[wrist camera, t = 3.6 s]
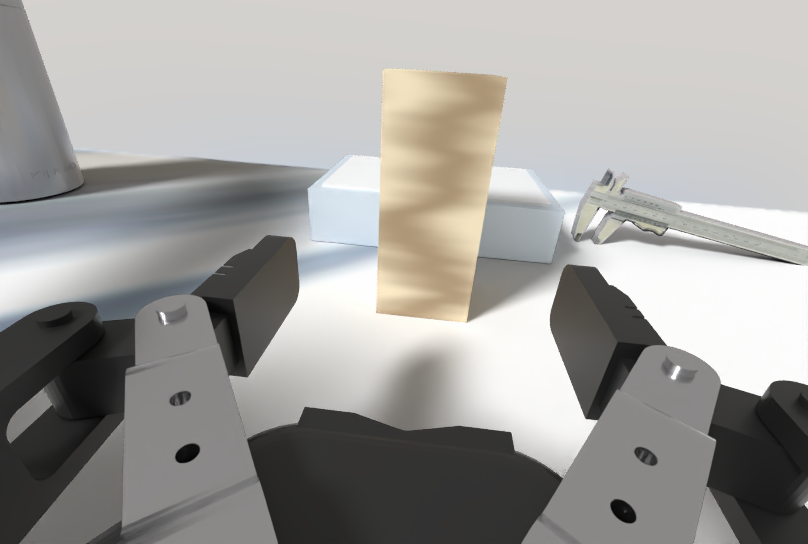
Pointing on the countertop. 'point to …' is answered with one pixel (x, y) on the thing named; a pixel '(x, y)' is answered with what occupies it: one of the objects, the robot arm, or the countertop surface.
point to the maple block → (434, 188)
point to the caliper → (670, 220)
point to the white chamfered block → (503, 221)
